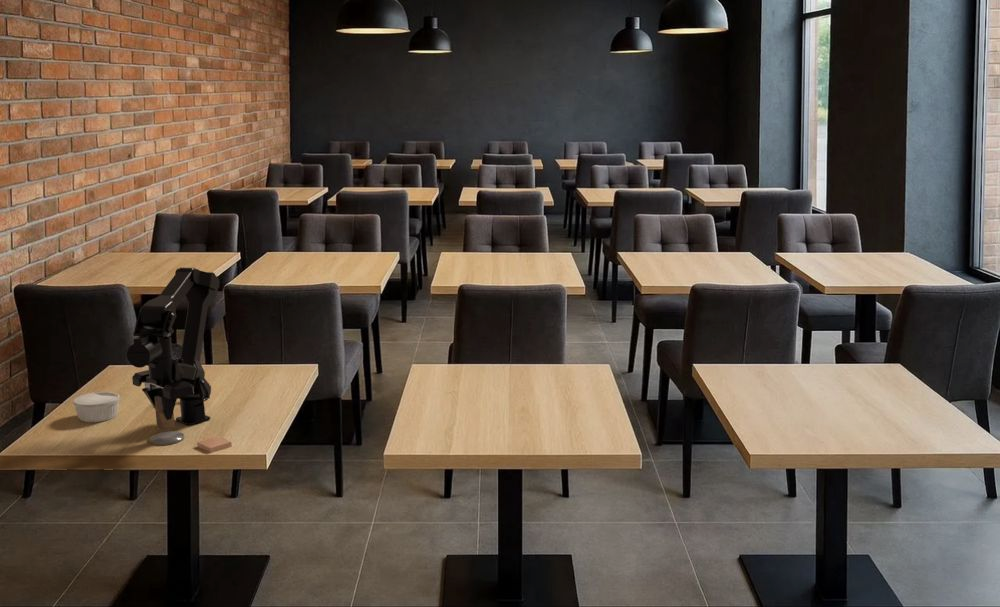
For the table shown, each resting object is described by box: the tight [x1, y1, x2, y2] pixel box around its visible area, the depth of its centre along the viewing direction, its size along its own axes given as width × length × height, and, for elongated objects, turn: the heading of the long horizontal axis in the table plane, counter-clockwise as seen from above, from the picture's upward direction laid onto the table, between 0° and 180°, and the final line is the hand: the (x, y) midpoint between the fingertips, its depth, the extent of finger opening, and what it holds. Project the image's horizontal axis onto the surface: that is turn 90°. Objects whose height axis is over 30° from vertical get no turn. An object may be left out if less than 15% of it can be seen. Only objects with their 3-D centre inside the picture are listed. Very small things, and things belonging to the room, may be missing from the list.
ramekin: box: [72, 391, 121, 423], centre depth 269 cm, size 11×11×5 cm
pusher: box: [154, 396, 175, 432], centre depth 251 cm, size 3×3×8 cm
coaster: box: [149, 431, 185, 446], centre depth 253 cm, size 8×8×1 cm
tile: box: [196, 435, 233, 453], centre depth 248 cm, size 2×6×6 cm
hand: (165, 417), depth 252 cm, fingers closed on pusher, 3 cm apart
